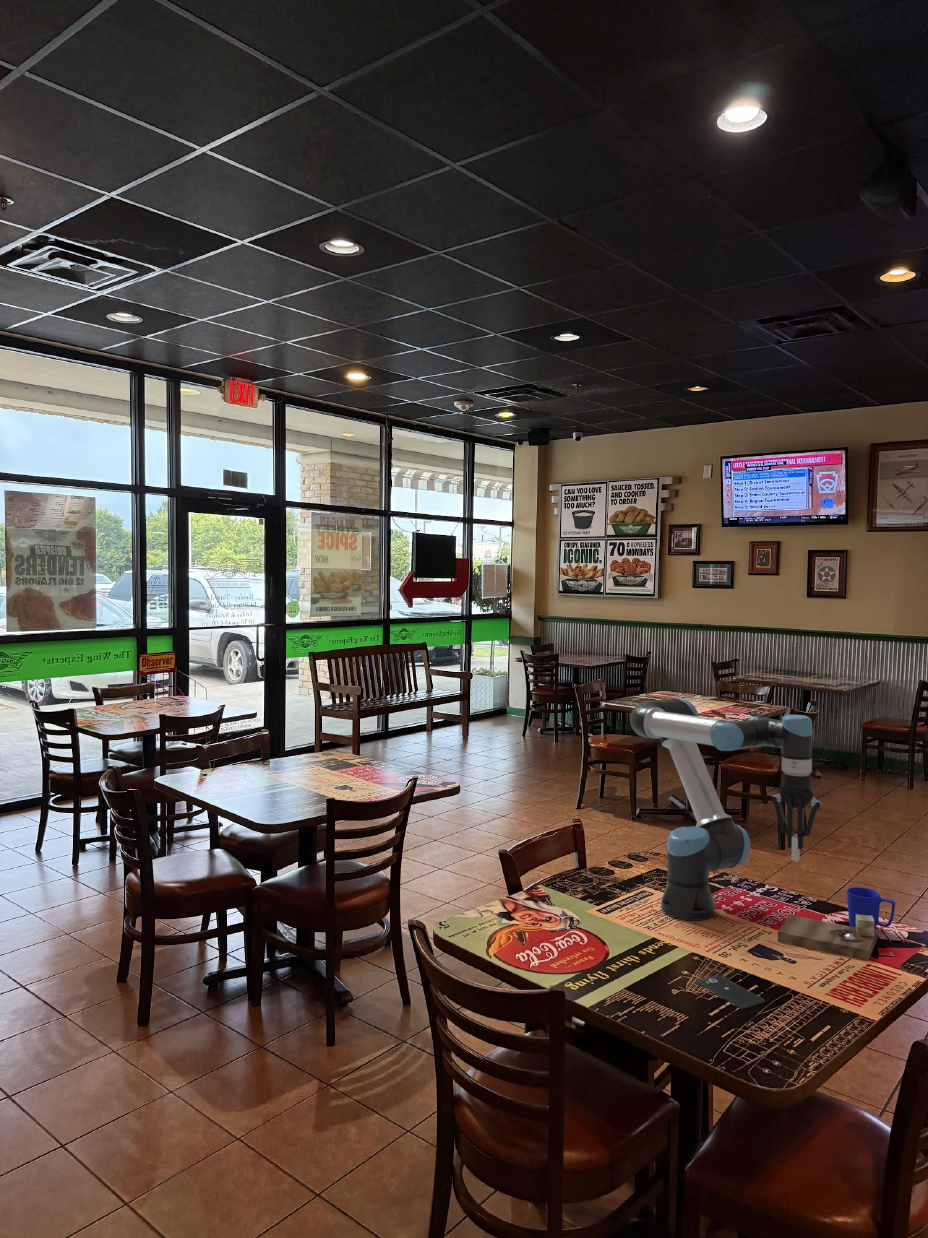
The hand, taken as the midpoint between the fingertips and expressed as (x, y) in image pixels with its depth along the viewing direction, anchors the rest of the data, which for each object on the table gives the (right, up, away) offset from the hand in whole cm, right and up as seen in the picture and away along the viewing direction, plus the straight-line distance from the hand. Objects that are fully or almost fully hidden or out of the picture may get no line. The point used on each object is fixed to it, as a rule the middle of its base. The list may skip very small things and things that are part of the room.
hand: (795, 859), depth 230 cm
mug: (+22, -20, +3) cm, 30 cm away
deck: (+7, -20, -4) cm, 22 cm away
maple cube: (+16, -18, -5) cm, 25 cm away
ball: (+11, -19, -7) cm, 23 cm away
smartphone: (-28, -22, -32) cm, 48 cm away
